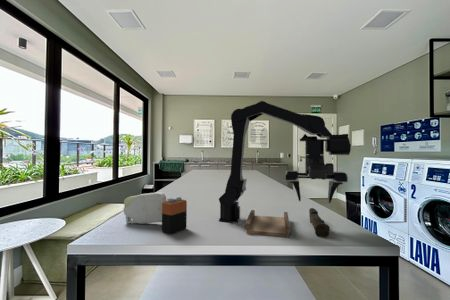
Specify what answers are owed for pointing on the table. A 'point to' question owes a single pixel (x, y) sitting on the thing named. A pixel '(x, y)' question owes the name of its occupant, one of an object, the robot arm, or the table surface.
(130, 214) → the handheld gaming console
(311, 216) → the hand tool
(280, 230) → the tool cradle
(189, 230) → the table surface
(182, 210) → the battery
